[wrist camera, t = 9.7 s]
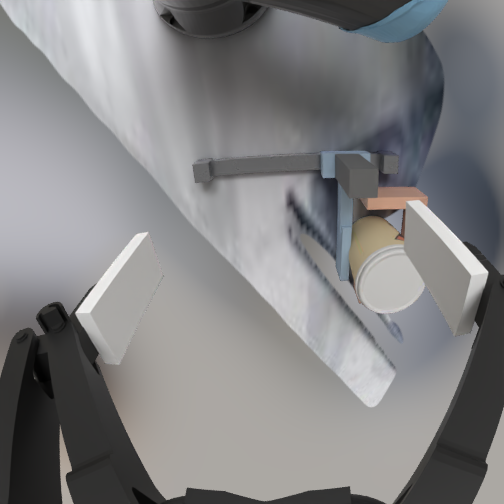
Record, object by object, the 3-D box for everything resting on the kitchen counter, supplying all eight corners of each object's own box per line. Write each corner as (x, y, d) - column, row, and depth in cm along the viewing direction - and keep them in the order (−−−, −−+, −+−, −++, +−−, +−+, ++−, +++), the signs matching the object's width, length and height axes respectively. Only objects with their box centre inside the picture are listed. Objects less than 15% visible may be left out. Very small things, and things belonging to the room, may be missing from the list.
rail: (197, 159, 41) (192, 164, 38) (390, 151, 38) (398, 155, 36) (200, 176, 42) (195, 182, 39) (390, 168, 39) (397, 173, 37)
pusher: (319, 149, 39) (334, 169, 29) (363, 149, 38) (392, 169, 28) (320, 266, 47) (330, 314, 37) (358, 265, 46) (377, 311, 36)
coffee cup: (405, 251, 45) (435, 297, 35) (351, 275, 48) (369, 326, 37) (388, 199, 42) (421, 236, 31) (329, 226, 44) (345, 270, 34)
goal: (359, 187, 41) (367, 197, 37) (414, 187, 40) (427, 197, 36) (353, 286, 49) (359, 303, 45) (402, 282, 48) (411, 298, 44)
